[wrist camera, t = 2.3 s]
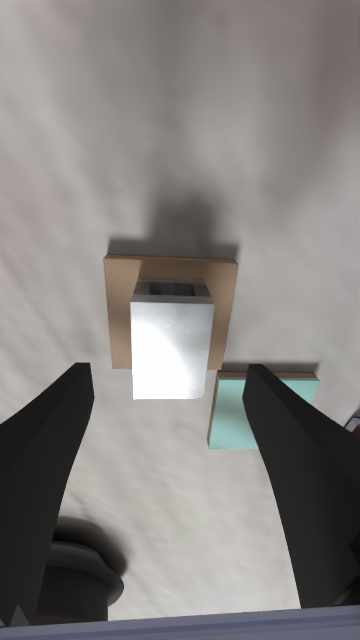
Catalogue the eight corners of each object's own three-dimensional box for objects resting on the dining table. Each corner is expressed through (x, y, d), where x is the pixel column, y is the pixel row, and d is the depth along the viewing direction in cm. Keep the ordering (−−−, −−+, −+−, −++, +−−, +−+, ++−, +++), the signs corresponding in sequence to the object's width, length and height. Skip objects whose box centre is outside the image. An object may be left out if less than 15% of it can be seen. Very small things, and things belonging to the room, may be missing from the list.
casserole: (-39, 518, 28) (-113, 638, 21) (131, 522, 30) (120, 631, 23) (-2, 606, 39) (-41, 704, 32) (121, 604, 41) (112, 695, 34)
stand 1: (106, 254, 16) (103, 258, 15) (233, 259, 16) (237, 263, 15) (114, 360, 19) (112, 368, 18) (218, 361, 20) (221, 369, 19)
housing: (138, 276, 15) (130, 302, 12) (203, 278, 16) (214, 304, 12) (140, 357, 18) (134, 398, 15) (195, 358, 18) (203, 398, 15)
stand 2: (217, 371, 20) (219, 380, 19) (313, 372, 21) (319, 380, 20) (207, 439, 24) (208, 449, 23) (289, 438, 25) (293, 447, 24)
